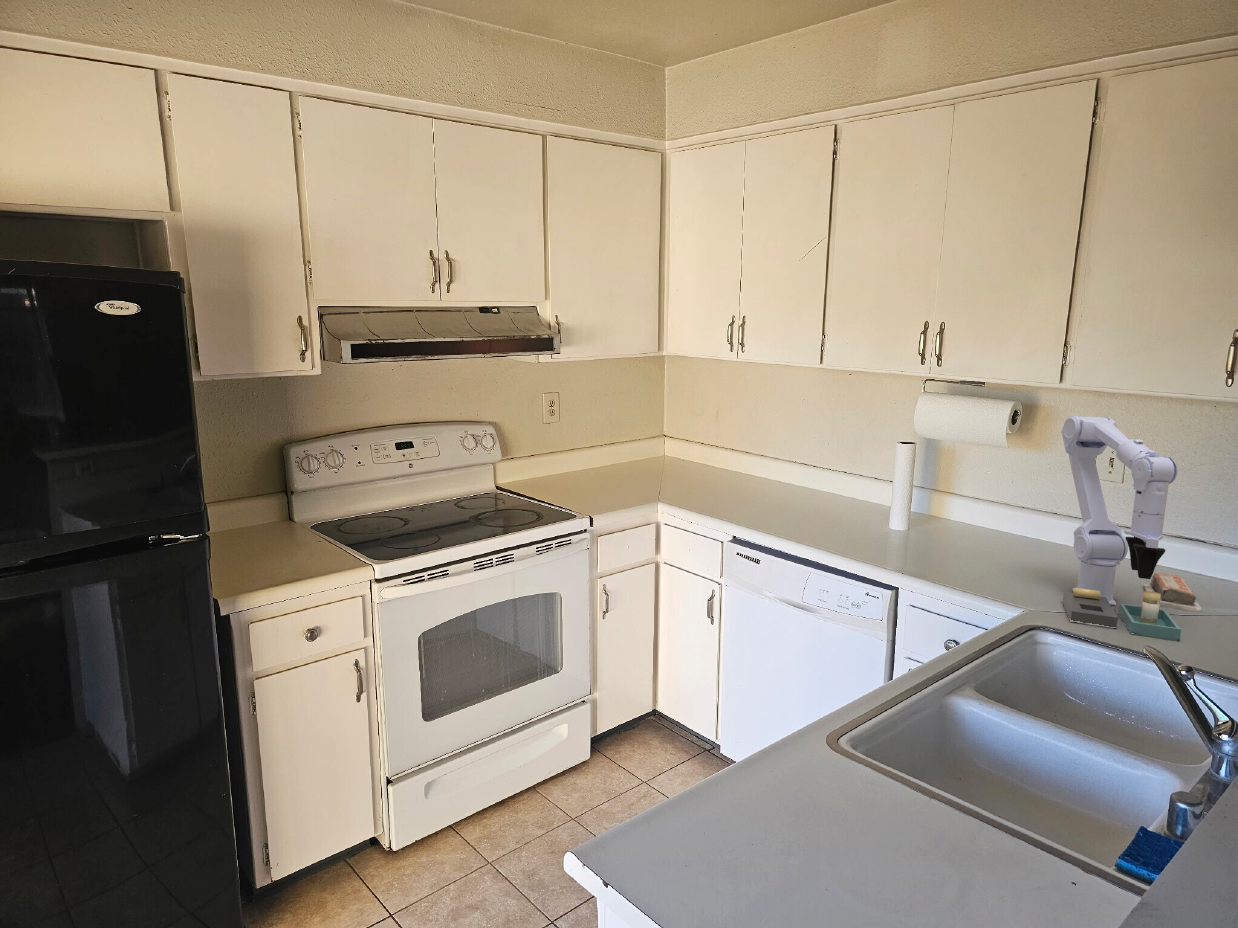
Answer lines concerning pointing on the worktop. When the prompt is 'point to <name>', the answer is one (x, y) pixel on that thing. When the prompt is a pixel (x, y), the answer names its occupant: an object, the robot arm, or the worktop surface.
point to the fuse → (1150, 607)
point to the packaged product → (1173, 592)
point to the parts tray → (1162, 630)
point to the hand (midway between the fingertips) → (1140, 574)
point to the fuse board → (1089, 607)
